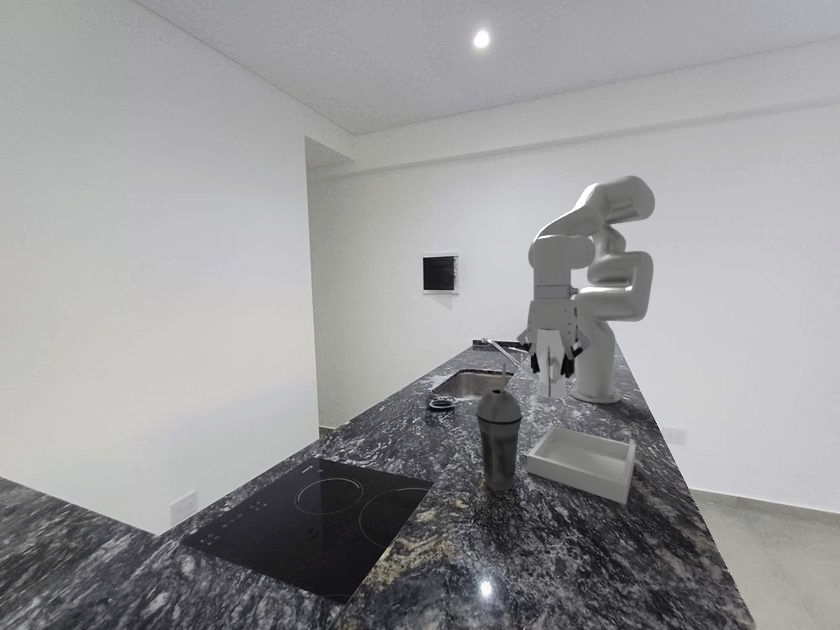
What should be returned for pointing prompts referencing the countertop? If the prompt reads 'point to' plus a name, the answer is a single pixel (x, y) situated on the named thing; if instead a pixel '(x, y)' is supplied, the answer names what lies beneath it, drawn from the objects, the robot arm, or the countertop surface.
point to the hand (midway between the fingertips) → (552, 373)
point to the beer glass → (550, 364)
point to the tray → (584, 462)
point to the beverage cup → (499, 435)
